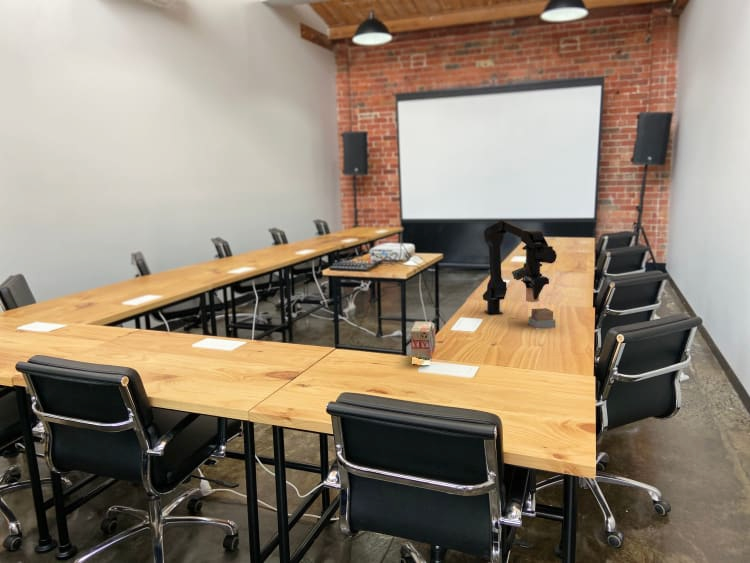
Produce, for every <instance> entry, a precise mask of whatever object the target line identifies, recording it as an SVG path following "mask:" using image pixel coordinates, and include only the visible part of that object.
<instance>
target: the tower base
mask: <svg viewBox="0 0 750 563" xmlns="http://www.w3.org/2000/svg"><path fill="white" fill-rule="evenodd" d="M528 325H530V326H531V325H532V326H531V327H533V328H534V329H536V328H541V329H552V328H553V329H555V328H556V320H555V319H554V318H553V320H543V321H538V320H536V319H534V318H532V317H531V316H528ZM554 327H555V328H554Z"/></svg>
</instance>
